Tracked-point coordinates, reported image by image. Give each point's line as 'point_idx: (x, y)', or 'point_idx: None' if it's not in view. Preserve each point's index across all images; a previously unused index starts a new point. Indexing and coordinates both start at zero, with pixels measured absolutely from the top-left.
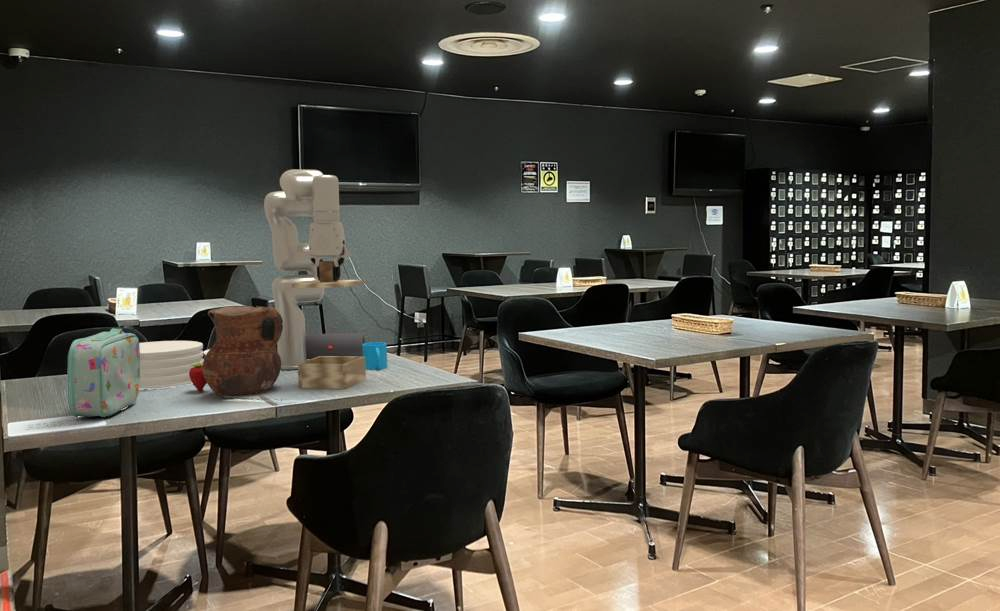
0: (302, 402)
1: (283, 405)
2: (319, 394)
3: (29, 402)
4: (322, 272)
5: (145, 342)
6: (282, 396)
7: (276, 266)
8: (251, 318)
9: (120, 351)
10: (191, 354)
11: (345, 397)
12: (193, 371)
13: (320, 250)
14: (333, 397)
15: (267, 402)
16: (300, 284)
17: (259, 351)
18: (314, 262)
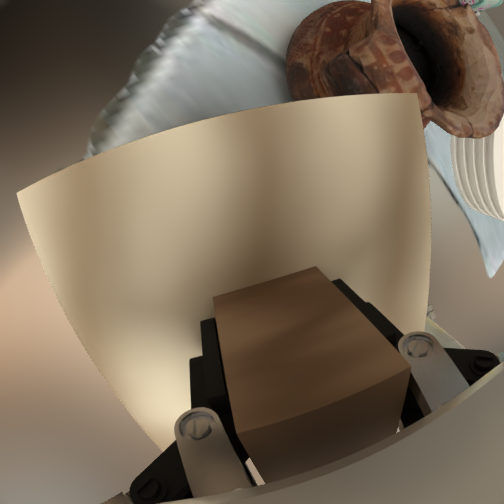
0: (173, 50)
1: (191, 20)
2: (190, 120)
3: (492, 31)
4: (322, 311)
5: None
6: (250, 79)
7: None
8: None
9: None
10: (487, 156)
11: (120, 118)
12: None
13: (475, 481)
14: (143, 108)
15: (240, 30)
16: (363, 95)
17: (320, 33)
18: (454, 358)
